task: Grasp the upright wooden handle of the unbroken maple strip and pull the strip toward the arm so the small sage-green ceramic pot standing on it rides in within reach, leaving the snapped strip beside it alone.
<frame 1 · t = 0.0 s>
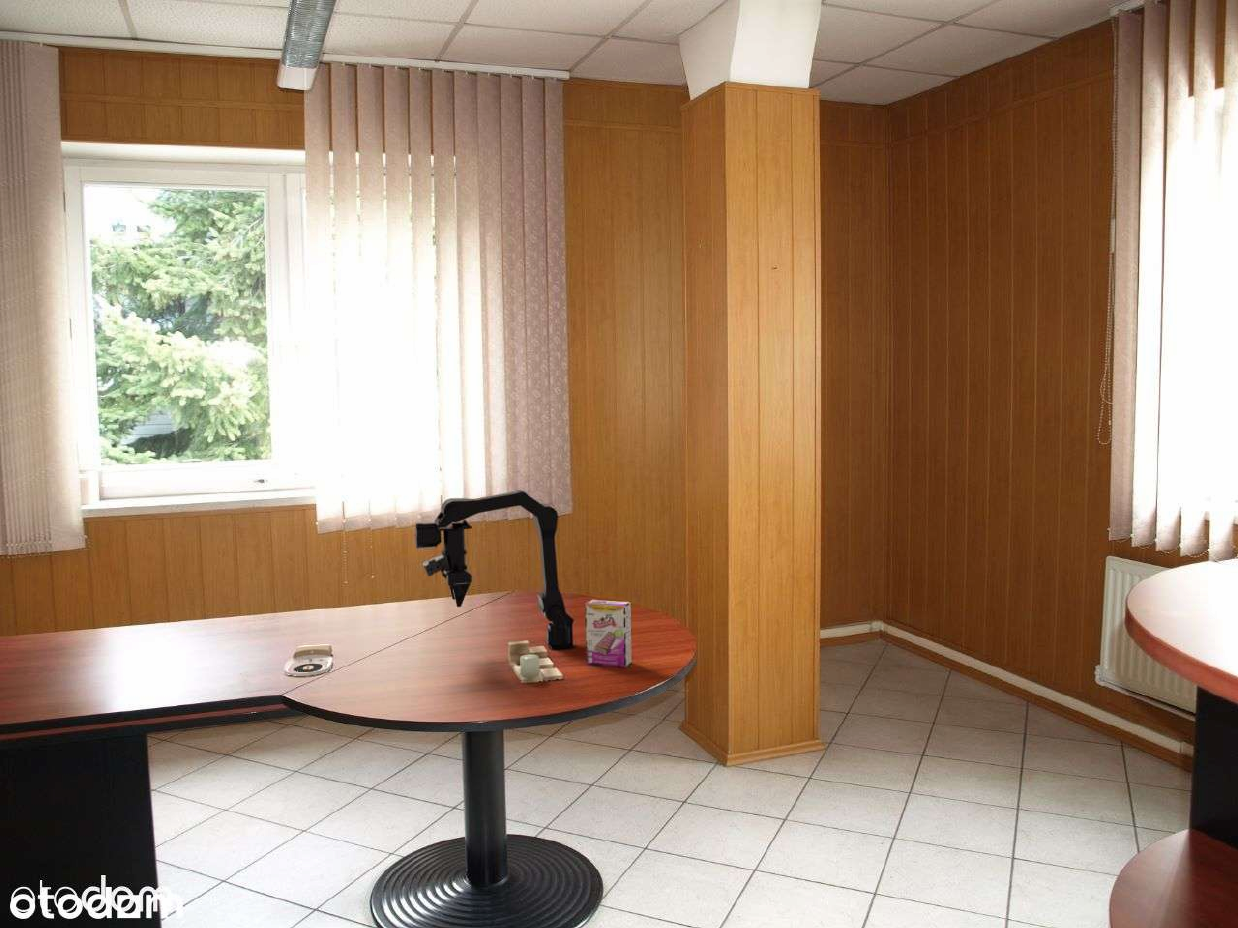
hand: (456, 603, 282), 15 cm above the table, tool pointing down, fingers open, 9 cm apart
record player: (310, 667, 279), on the table
sage pot: (530, 674, 263), point 1 cm above the table, touching maple strip
candy bar box: (609, 664, 274), on the table
maple strip: (525, 661, 269), point 3 cm above the table, slide at 0.0 cm, touching sage pot
broken strip: (547, 670, 269), on the table
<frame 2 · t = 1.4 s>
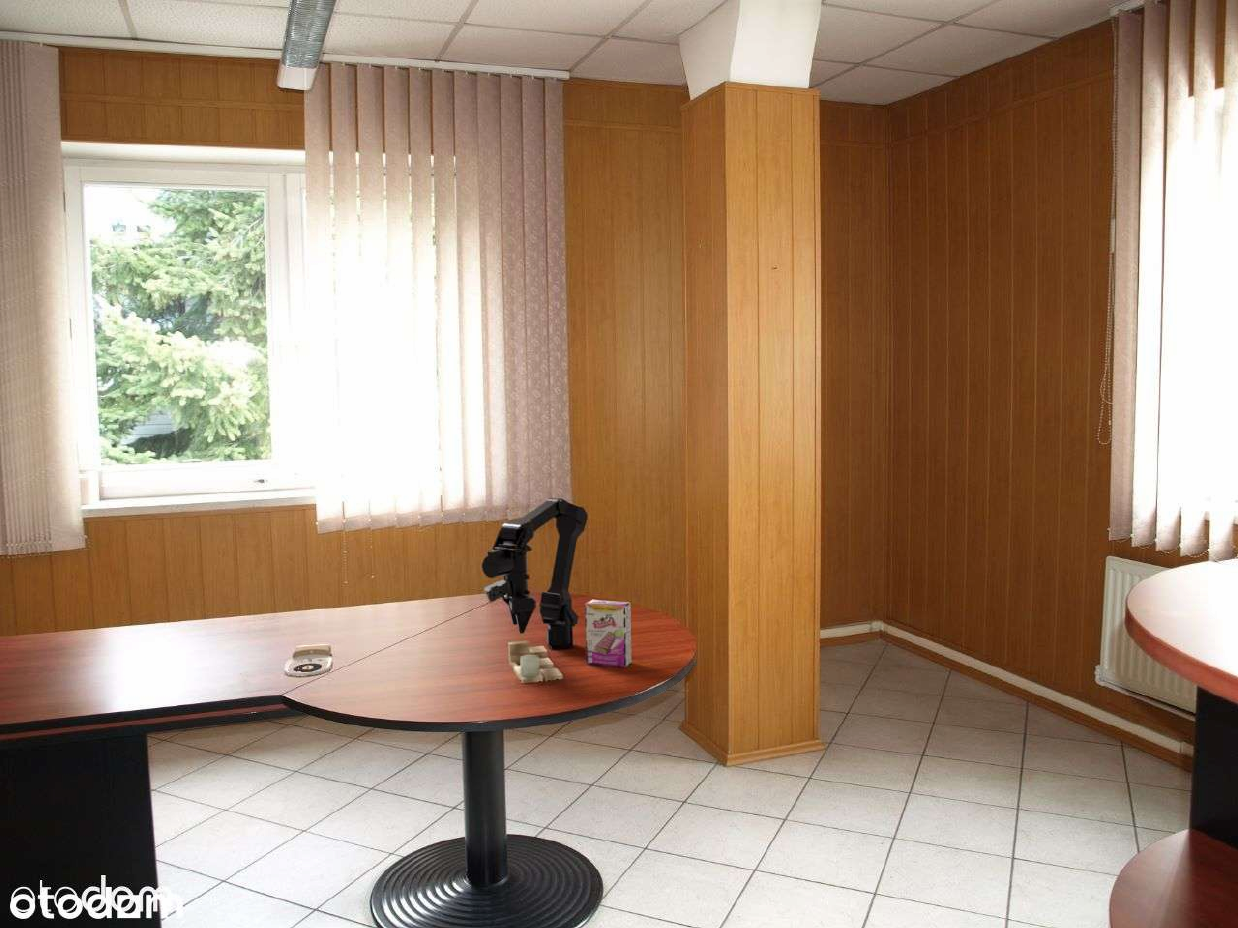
hand: (518, 628, 276), 9 cm above the table, tool pointing down, fingers open, 9 cm apart
nothing on the table moved.
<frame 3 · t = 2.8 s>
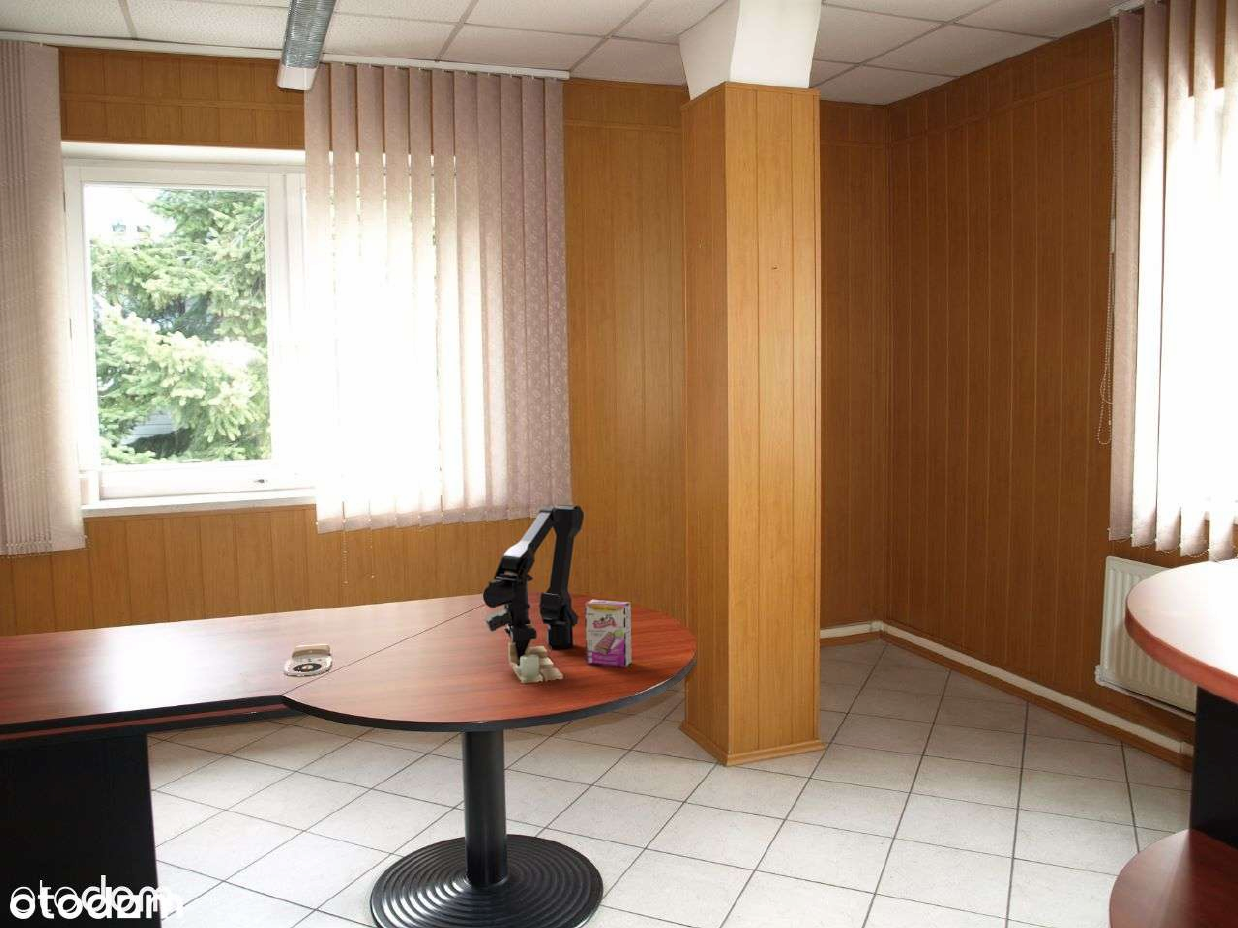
hand: (519, 657, 277), 1 cm above the table, tool pointing down, fingers closed on maple strip, 2 cm apart
maple strip: (525, 661, 269), point 3 cm above the table, slide at 0.0 cm, touching gripper, sage pot
everything else where it was.
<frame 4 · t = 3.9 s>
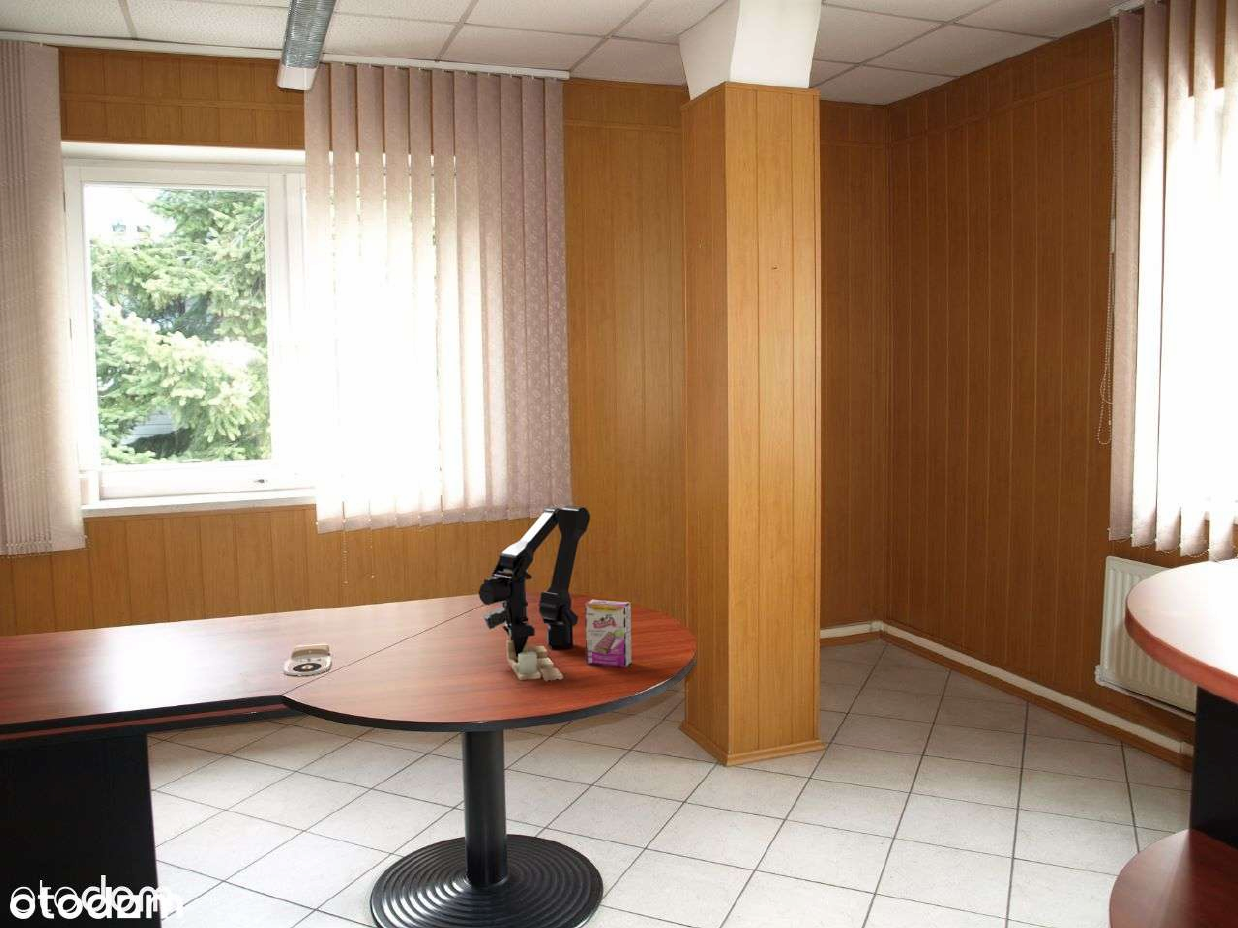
hand: (517, 655, 279), 1 cm above the table, tool pointing down, fingers closed on maple strip, 2 cm apart
sage pot: (527, 671, 266), point 1 cm above the table, touching maple strip
maple strip: (523, 658, 271), point 3 cm above the table, slide at 2.7 cm, touching gripper, sage pot
everything else where it was.
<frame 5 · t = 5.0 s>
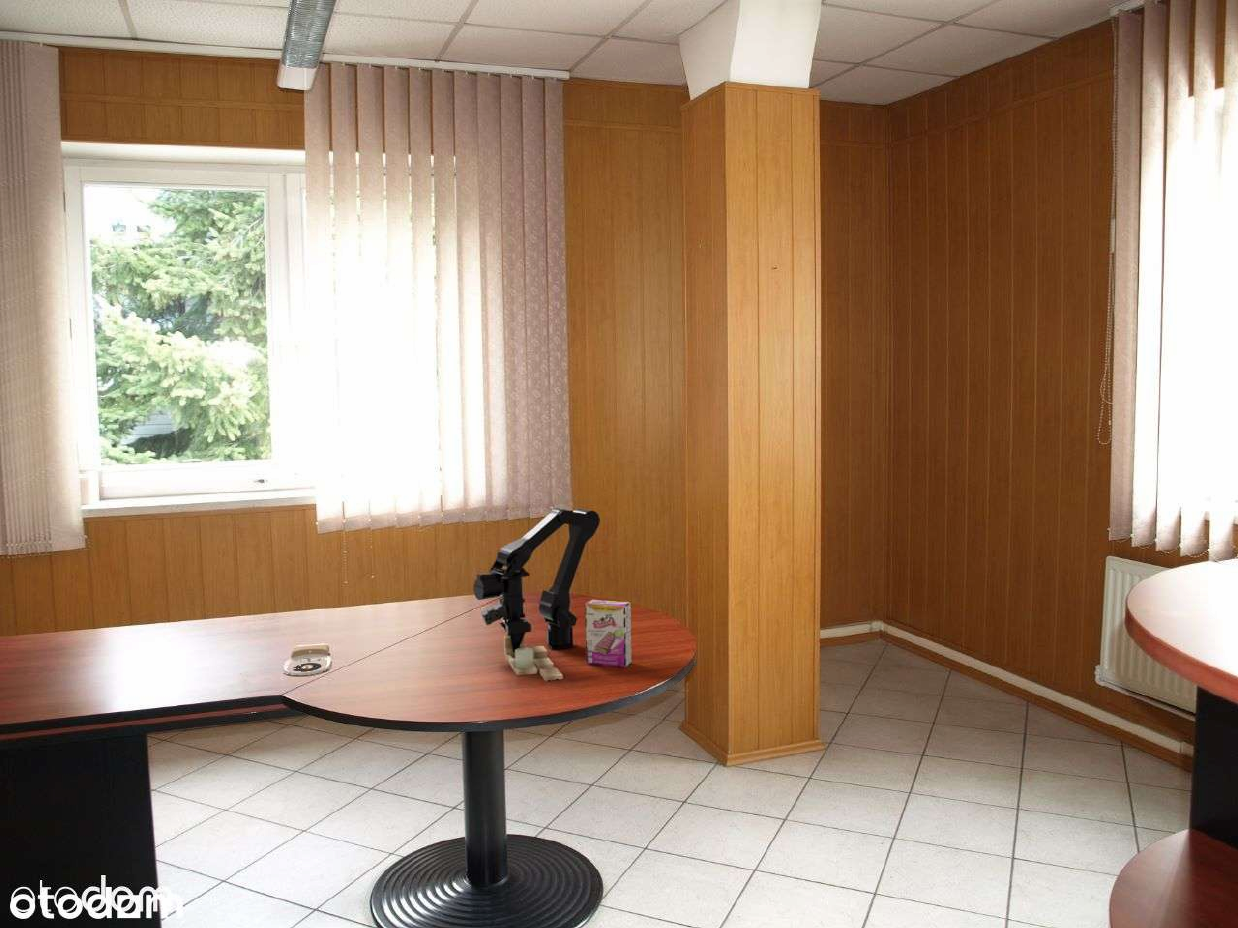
hand: (514, 650, 283), 1 cm above the table, tool pointing down, fingers closed on maple strip, 2 cm apart
sage pot: (524, 666, 270), point 1 cm above the table, touching maple strip
maple strip: (519, 653, 275), point 3 cm above the table, slide at 6.9 cm, touching gripper, sage pot
everything else where it was.
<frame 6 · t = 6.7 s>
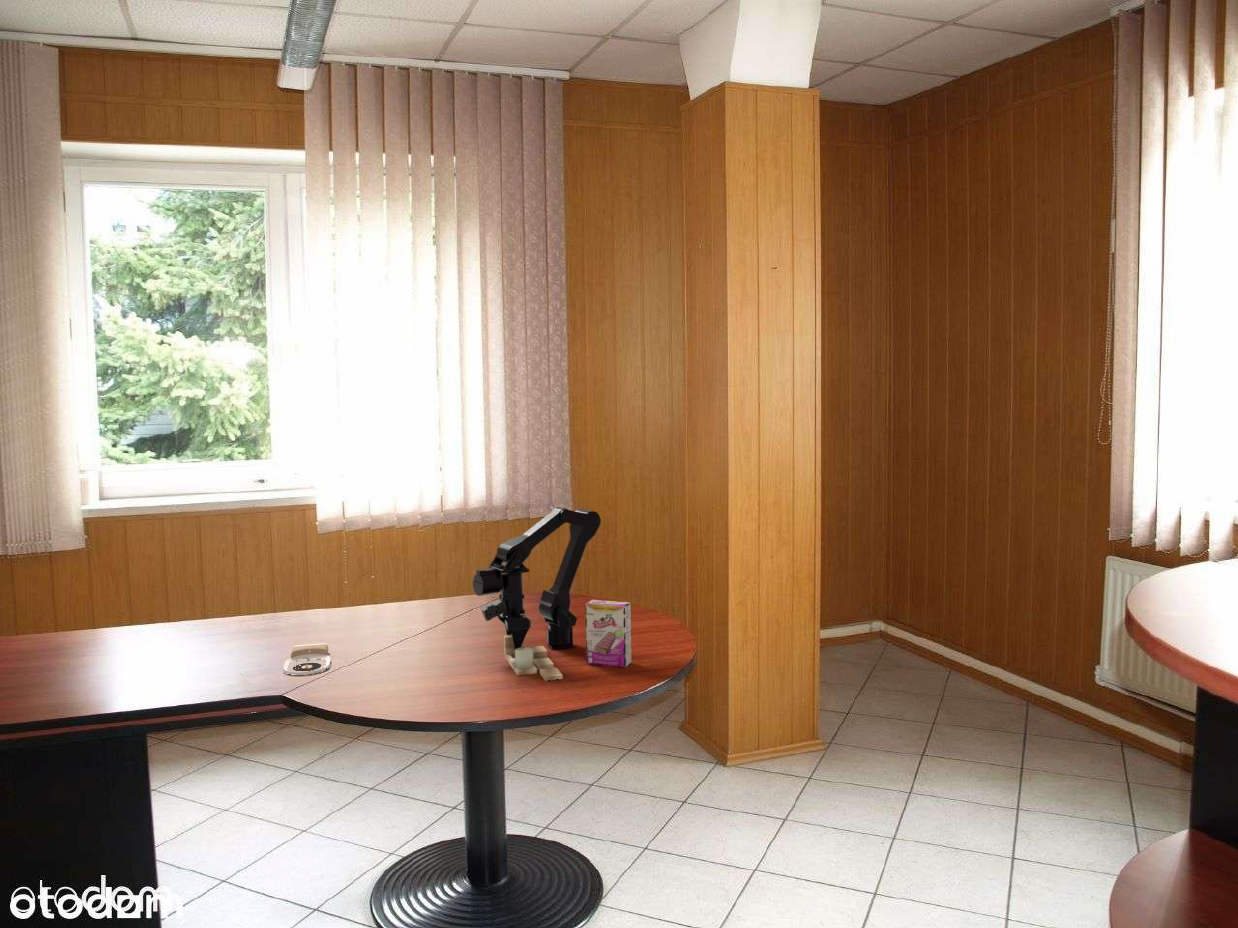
hand: (513, 646, 283), 2 cm above the table, tool pointing down, fingers open, 9 cm apart
maple strip: (519, 653, 275), point 3 cm above the table, slide at 7.0 cm, touching sage pot
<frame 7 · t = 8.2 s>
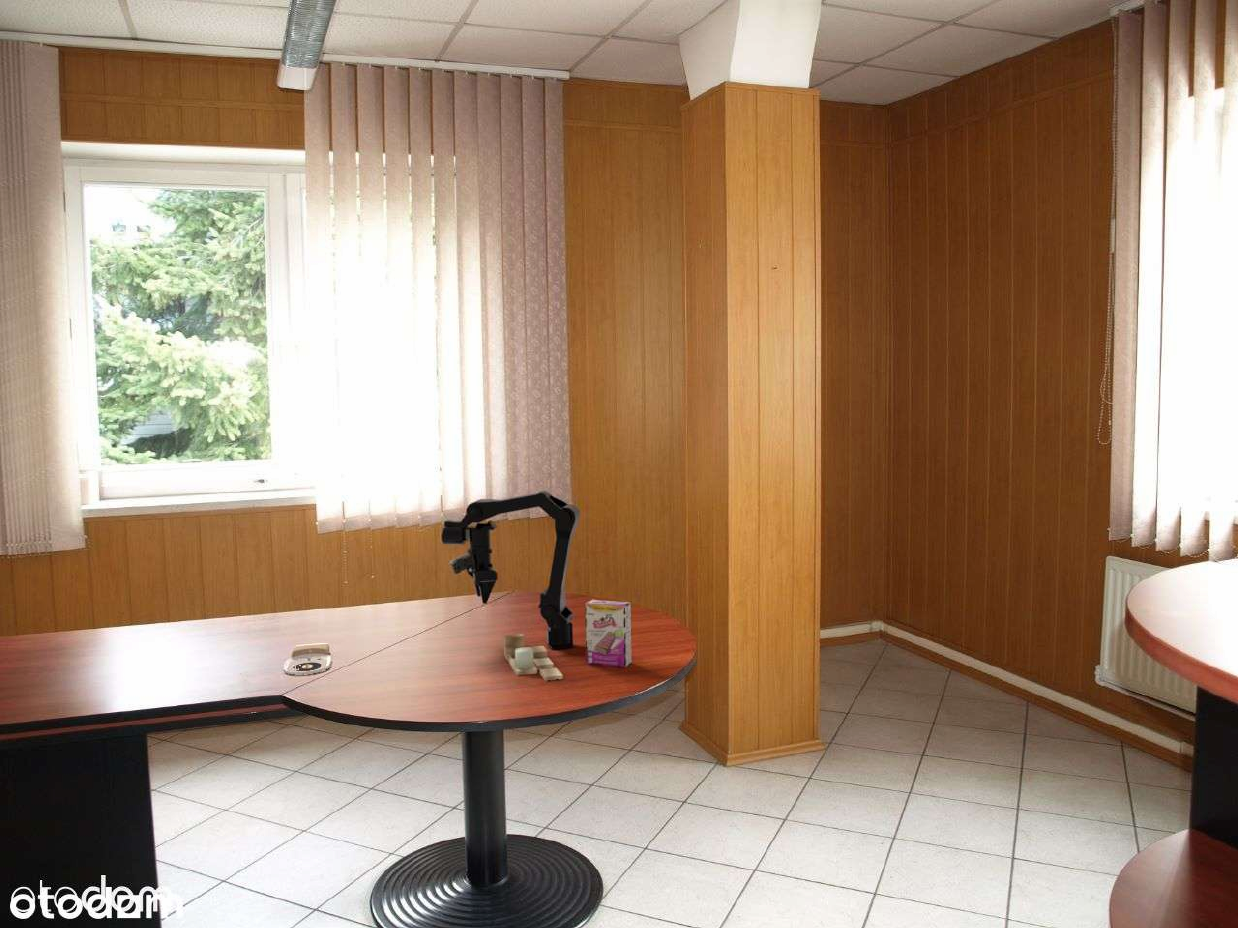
hand: (482, 599, 294), 13 cm above the table, tool pointing down, fingers open, 9 cm apart
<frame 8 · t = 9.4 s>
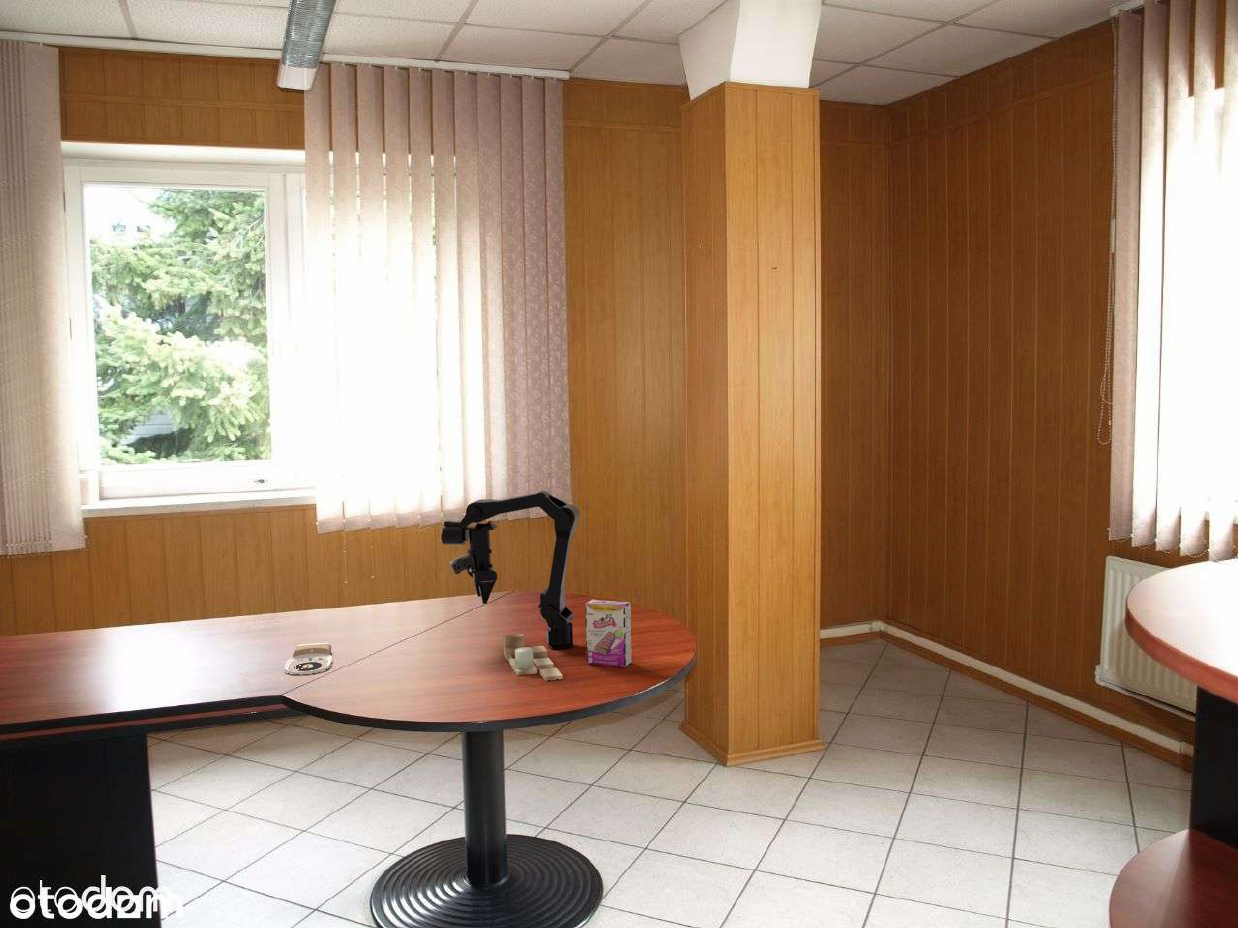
hand: (482, 600, 295), 12 cm above the table, tool pointing down, fingers open, 9 cm apart
at the end: maple strip slide at 7.0 cm; sage pot inside the target area (0.5 cm from its centre), point 1.0 cm above the table; sage pot tilted 0° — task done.
